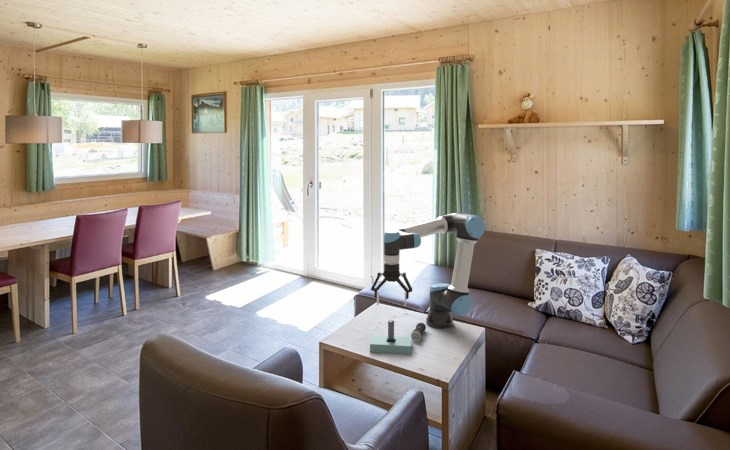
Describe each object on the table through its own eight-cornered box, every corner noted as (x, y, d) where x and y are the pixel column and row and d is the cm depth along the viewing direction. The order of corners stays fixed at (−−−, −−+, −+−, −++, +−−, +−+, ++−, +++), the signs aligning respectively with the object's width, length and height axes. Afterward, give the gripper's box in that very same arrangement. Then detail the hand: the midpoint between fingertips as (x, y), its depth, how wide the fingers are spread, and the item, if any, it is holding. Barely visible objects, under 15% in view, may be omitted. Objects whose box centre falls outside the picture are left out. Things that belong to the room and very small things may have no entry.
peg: (394, 346, 224) (394, 320, 221) (393, 349, 221) (393, 322, 218) (388, 346, 224) (388, 320, 222) (387, 349, 221) (387, 322, 219)
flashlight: (416, 330, 245) (416, 320, 244) (426, 331, 243) (426, 321, 243) (410, 341, 231) (410, 331, 230) (420, 342, 229) (421, 332, 228)
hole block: (411, 344, 226) (411, 337, 226) (410, 354, 215) (410, 346, 215) (372, 342, 229) (372, 335, 228) (370, 351, 218) (370, 344, 218)
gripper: (417, 261, 217) (417, 303, 221) (367, 260, 221) (367, 301, 224) (417, 265, 210) (416, 308, 213) (365, 264, 213) (365, 306, 217)
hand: (391, 304), depth 219 cm, fingers open, 13 cm apart
